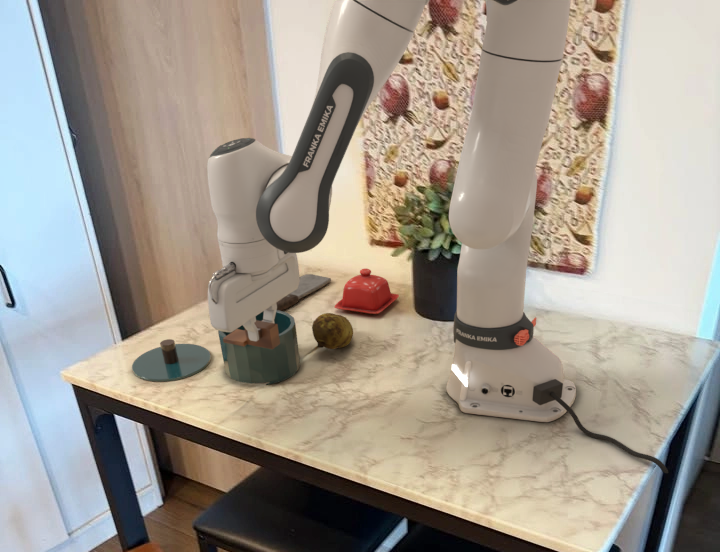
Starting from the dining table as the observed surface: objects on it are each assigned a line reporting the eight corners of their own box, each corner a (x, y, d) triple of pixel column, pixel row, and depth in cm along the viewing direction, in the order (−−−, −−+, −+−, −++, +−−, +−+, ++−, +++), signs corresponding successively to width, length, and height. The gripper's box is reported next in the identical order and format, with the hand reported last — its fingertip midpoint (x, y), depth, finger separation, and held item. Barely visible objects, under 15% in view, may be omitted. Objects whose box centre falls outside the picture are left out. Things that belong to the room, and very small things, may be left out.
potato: (369, 337, 155) (367, 300, 150) (336, 364, 146) (333, 325, 142) (335, 330, 159) (332, 294, 154) (301, 356, 150) (296, 318, 145)
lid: (227, 356, 152) (222, 333, 149) (176, 390, 141) (170, 366, 138) (169, 343, 159) (164, 320, 156) (116, 375, 148) (110, 351, 145)
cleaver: (258, 327, 162) (257, 318, 160) (223, 319, 166) (222, 310, 165) (335, 281, 181) (334, 273, 180) (302, 275, 186) (301, 267, 185)
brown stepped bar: (283, 341, 127) (280, 321, 125) (269, 351, 124) (266, 331, 122) (237, 333, 131) (234, 313, 129) (223, 342, 128) (219, 322, 126)
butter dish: (356, 293, 174) (353, 257, 169) (401, 300, 170) (400, 263, 165) (332, 312, 166) (328, 275, 161) (379, 320, 162) (377, 282, 157)
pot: (314, 358, 149) (309, 315, 143) (271, 392, 139) (265, 347, 133) (255, 346, 155) (248, 304, 150) (210, 377, 145) (201, 334, 140)
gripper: (224, 279, 109) (240, 365, 117) (301, 234, 123) (310, 313, 131) (190, 273, 112) (208, 358, 120) (269, 230, 126) (280, 308, 134)
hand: (262, 334), depth 125 cm, fingers closed on brown stepped bar, 2 cm apart
